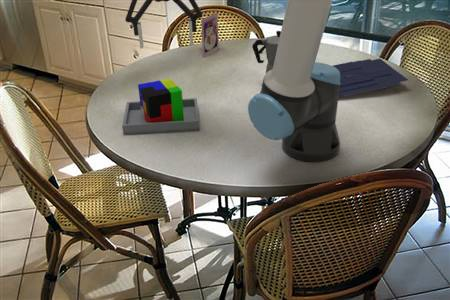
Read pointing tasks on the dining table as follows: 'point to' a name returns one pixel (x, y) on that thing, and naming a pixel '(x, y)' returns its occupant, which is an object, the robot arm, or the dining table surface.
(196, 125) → the tray
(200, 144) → the dining table surface
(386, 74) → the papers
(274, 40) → the coffeepot
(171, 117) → the puzzle toy
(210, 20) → the greeting card
